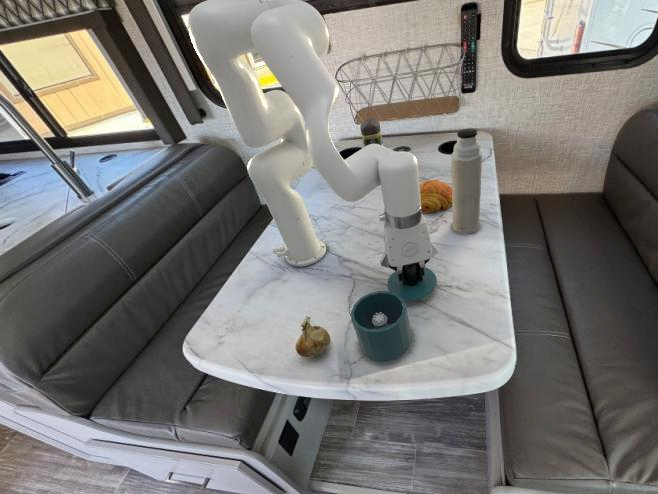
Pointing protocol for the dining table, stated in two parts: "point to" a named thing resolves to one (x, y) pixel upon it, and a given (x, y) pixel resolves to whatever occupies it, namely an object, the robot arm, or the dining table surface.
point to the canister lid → (412, 283)
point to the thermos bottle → (466, 181)
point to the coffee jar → (371, 132)
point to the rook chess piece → (379, 321)
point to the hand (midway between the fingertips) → (411, 279)
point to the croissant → (435, 196)
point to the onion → (312, 340)
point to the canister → (384, 340)
